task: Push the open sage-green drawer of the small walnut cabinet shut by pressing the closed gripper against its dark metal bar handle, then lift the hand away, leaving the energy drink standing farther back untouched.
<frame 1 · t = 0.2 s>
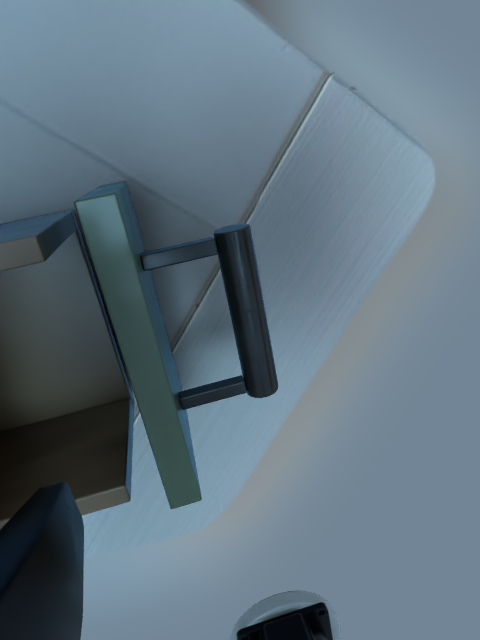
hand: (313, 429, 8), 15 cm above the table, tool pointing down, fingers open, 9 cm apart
drawer: (45, 356, 18), point 5 cm above the table, slide at 7.0 cm
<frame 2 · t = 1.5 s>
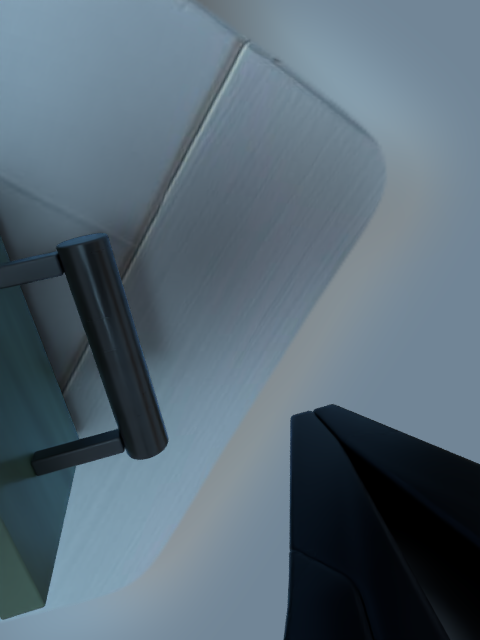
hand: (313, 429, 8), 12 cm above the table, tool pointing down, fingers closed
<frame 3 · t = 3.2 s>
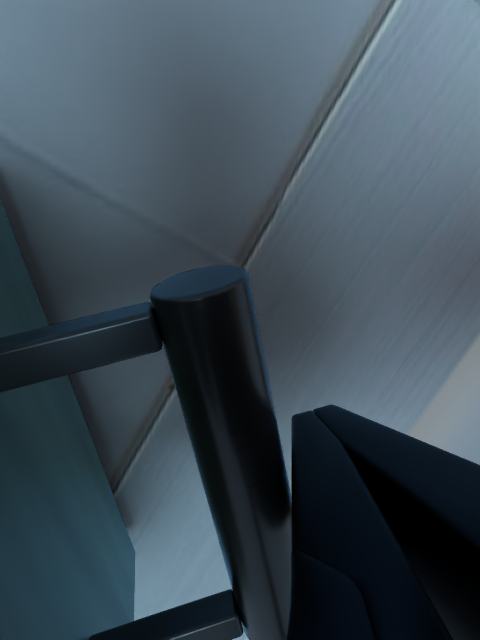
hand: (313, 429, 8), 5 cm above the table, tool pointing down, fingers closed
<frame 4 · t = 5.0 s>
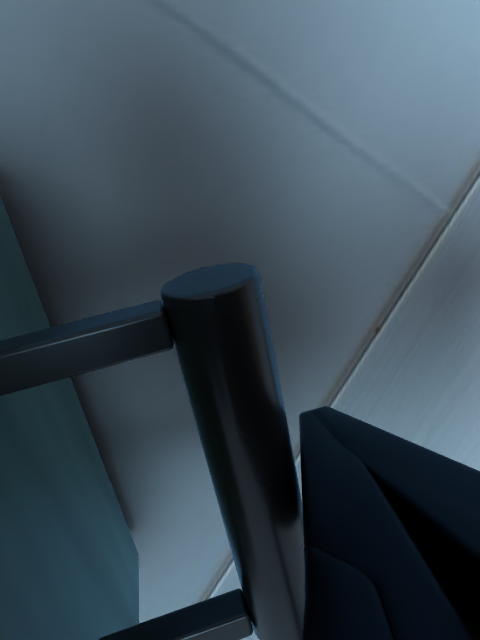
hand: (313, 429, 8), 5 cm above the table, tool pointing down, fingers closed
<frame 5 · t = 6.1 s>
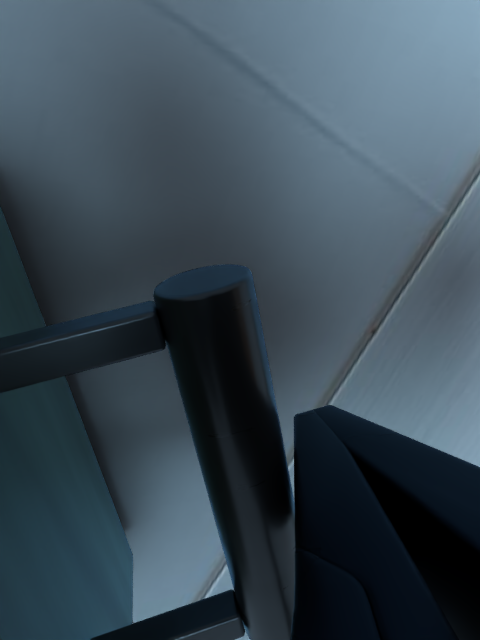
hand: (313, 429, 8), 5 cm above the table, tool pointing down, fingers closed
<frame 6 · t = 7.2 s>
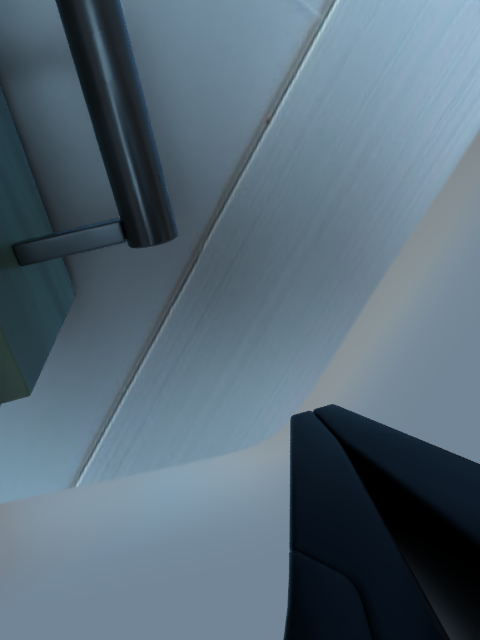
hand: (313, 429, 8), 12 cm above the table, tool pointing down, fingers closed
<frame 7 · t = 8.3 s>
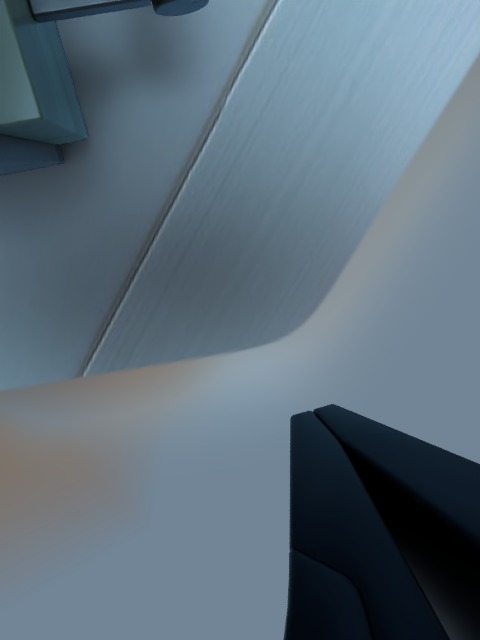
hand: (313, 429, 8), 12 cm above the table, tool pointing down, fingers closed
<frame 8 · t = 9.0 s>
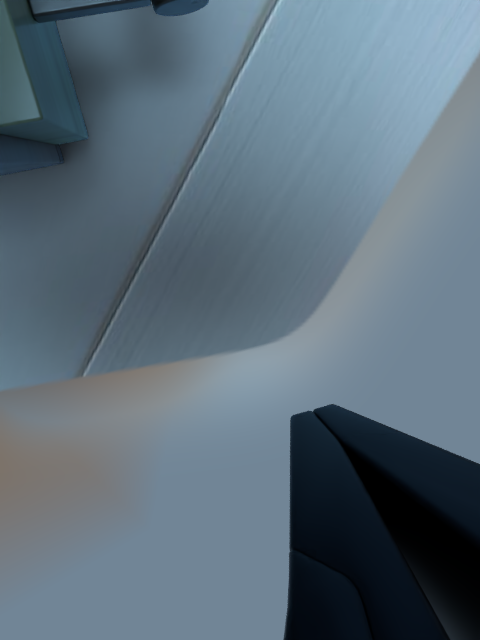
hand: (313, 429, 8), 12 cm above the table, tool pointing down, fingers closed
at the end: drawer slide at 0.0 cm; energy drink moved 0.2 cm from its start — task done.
